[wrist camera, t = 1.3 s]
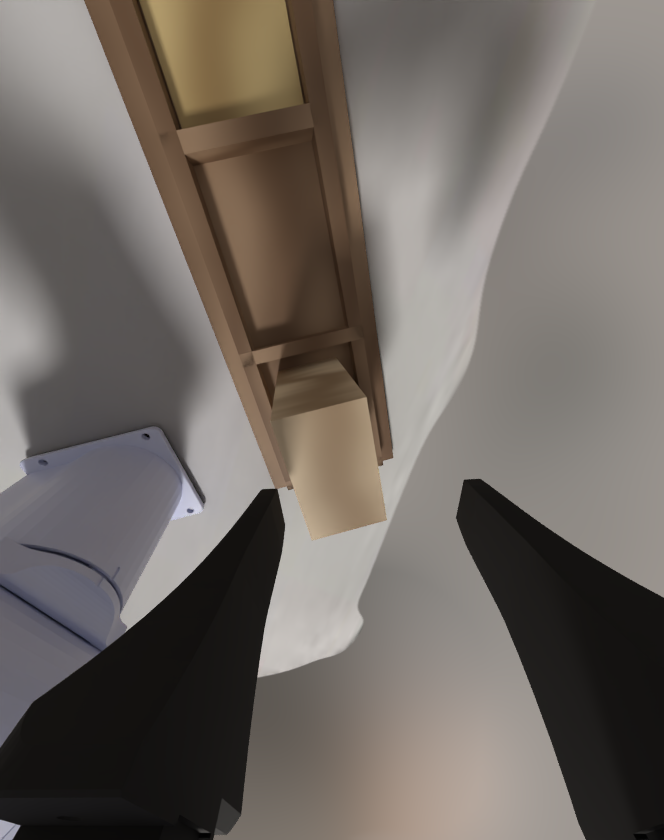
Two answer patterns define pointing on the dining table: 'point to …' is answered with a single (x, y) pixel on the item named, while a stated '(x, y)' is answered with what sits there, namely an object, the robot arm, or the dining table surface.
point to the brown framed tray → (256, 184)
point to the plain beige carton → (328, 447)
